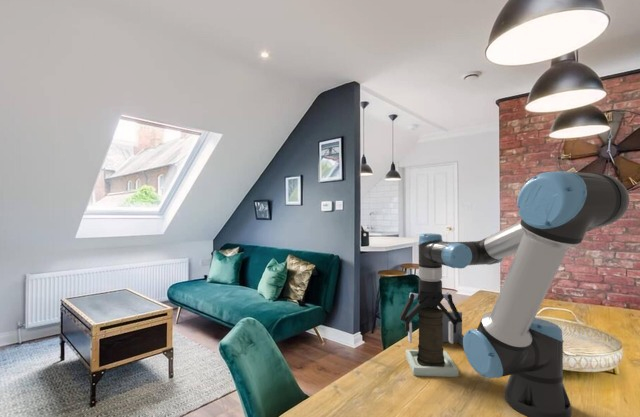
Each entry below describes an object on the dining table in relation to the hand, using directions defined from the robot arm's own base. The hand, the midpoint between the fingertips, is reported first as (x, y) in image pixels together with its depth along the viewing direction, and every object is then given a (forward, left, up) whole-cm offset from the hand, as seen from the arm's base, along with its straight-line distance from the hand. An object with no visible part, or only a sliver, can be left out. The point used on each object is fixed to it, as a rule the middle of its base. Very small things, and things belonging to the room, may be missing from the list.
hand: (430, 341), depth 113 cm
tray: (0, 0, -8) cm, 8 cm away
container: (0, 0, -7) cm, 7 cm away
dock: (+15, -10, -8) cm, 20 cm away
